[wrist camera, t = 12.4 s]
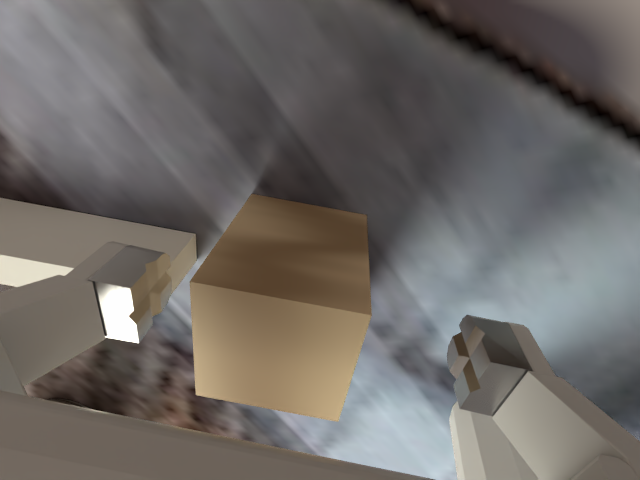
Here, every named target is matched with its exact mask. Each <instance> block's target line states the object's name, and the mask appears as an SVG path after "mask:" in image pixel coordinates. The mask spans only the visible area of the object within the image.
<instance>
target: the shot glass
mask: <svg viewBox="0 0 640 480" xmlns="http://www.w3.org/2000/svg"><path fill="white" fill-rule="evenodd" d="M449 422H450V429H451V436H452V443H453V450H454V457H455V464H456V471H457V478H458V480H539V479H538V477H537V476H536V475H535V473H534V472H533V471H532V470H531V468H530V467H529V466H528V464H527V463H526V462H525V460H524V459H523V458H522V457H521V455H520V454H519V453H518V451H517V450H516V449H515V447H514V446H513V445H512V443H511V442H510V441H509V440H508V438H507V437H506V436H505V434H504V433H503V432H502V430H501V429H500V428H499V427H498V425H497V424H496V423H495V421H494V420H493V419H492V416H488V415H484V414H480V413H475V412H471V411H467V410H462V409H459V405H458V401H457V402H456V403H455V404H454V405H453V407H452V411H451V415H450V419H449Z"/></svg>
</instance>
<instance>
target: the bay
mask: <svg viewBox="0 0 640 480" xmlns="http://www.w3.org/2000/svg"><path fill="white" fill-rule="evenodd" d="M112 241H114V242H118V243H123V244H128V245H133V246H137V247H142V248H146V249H151V250H155V251H159V252H164V253H167V254H168V255H169V256H170V264H171V266H170V268H169V269H168V270H167V271H166V272H167V274H168V275H169V276H170V277H171V279H172V291H171V294H172V293H173V292H174V290H175V289H176V288H177V286H178V285H179V284H180V282H181V281H182V280H183V278H184V277H185V276H186V274H187V273H188V272H189V270H190V269H191V267H192V266H193V265H194V263H195V262H196V261H197V252H196V234H193V233H188V232H183V231H177V230H172V229H166V228H161V227H156V226H150V225H145V224H139V223H134V222H129V221H123V220H118V219H112V218H107V217H102V216H96V215H91V214H85V213H80V212H75V211H69V210H64V209H58V208H53V207H47V206H42V205H37V204H31V203H26V202H20V201H15V200H10V199H4V198H0V284H4V285H10V286H15V287H20V286H23V285H26V284H30V283H33V282H36V281H40V280H43V279H46V278H49V277H53V276H56V275H63V276H65V275H66V274H68V273H69V272H70V271H72V270H73V269H74V268H75V267H77V266H78V265H79V264H80V263H82V262H83V261H84V260H85V259H87V258H88V257H89V256H90V255H92V254H93V253H94V252H95V251H97V250H98V249H99V248H101V247H102V246H103V245H104V244H106V243H107V242H112Z"/></svg>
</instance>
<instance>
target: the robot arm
mask: <svg viewBox="0 0 640 480" xmlns="http://www.w3.org/2000/svg"><path fill="white" fill-rule="evenodd" d="M170 266H171V264H170V256H169V255H168V254H167V253H164V252H159V251H155V250H151V249H146V248H142V247H137V246H133V245H128V244H123V243H118V242H114V241H112V242H107V243H106V244H104V245H103V246H102V247H101V248H99V249H98V250H97V251H95V252H94V253H93V254H92V255H90V256H89V257H88V258H87V259H85V260H84V261H83V262H82V263H80V264H79V265H78V266H77V267H75V268H74V269H73V270H72V271H70V272H69V273H68V274H66V275H65V276H63V275H56V276H53V277H49V278H46V279H43V280H40V281H36V282H33V283H30V284H26V285H23V286H20V287H17V288H13V289H10V290H7V291H4V292H0V480H434V479H430V478H425V477H420V476H415V475H410V474H405V473H400V472H395V471H390V470H386V469H381V468H376V467H371V466H366V465H361V464H356V463H351V462H346V461H342V460H337V459H332V458H327V457H322V456H317V455H312V454H307V453H302V452H298V451H293V450H288V449H283V448H278V447H273V446H268V445H264V444H259V443H254V442H249V441H244V440H239V439H234V438H230V437H225V436H220V435H215V434H210V433H205V432H200V431H195V430H191V429H186V428H181V427H176V426H171V425H166V424H161V423H157V422H152V421H147V420H142V419H137V418H132V417H127V416H122V415H118V414H113V413H108V412H103V411H98V410H93V409H88V408H84V407H79V406H74V405H69V404H64V403H59V402H54V401H50V400H45V399H40V398H35V397H30V396H28V395H27V393H26V391H25V389H24V386H26V385H27V384H29V383H31V382H32V381H34V380H36V379H38V378H39V377H41V376H43V375H44V374H46V373H48V372H50V371H51V370H53V369H55V368H56V367H58V366H60V365H62V364H63V363H65V362H67V361H68V360H70V359H72V358H74V357H75V356H77V355H79V354H81V353H82V352H84V351H86V350H87V349H89V348H91V347H93V346H94V345H96V344H98V343H99V342H101V341H103V340H105V337H107V338H113V339H119V340H124V341H130V342H136V343H139V342H140V341H141V340H142V338H143V337H144V335H145V334H146V333H147V331H148V330H149V329H150V327H151V326H152V325H153V320H152V316H154V315H156V314H159V313H161V312H162V311H163V309H164V308H165V307H166V305H167V303H168V301H169V298H170V296H171V291H172V279H171V277H170V276H169V275H168V274H167V272H166V271H167V270H168V269H169V268H170ZM459 326H460V329H461V333H459V334H457V335H455V336H453V337H452V339H451V341H450V344H449V346H448V352H447V363H448V367H449V371H450V372H451V373H452V374H453V375H454V377H455V378H456V379H457V380H456V382H455V384H454V385H453V386H454V390H455V394H456V398H457V401H458V405H459V409H462V410H467V411H471V412H475V413H480V414H484V415H488V416H492V419H493V420H494V421H495V423H496V424H497V425H498V427H499V428H500V429H501V430H502V432H503V433H504V434H505V436H506V437H507V438H508V440H509V441H510V442H511V443H512V445H513V446H514V447H515V449H516V450H517V451H518V453H519V454H520V455H521V457H522V458H523V459H524V460H525V462H526V463H527V464H528V466H529V467H530V468H531V470H532V471H533V472H534V473H535V475H536V476H537V477H538V479H539V480H640V441H638V440H637V439H636V438H635V437H634V436H632V435H631V434H630V433H629V432H627V431H626V430H625V429H624V428H623V427H621V426H620V425H619V424H618V423H617V422H615V421H614V420H613V419H612V418H610V417H609V416H608V415H607V414H606V413H604V412H603V411H602V410H601V409H599V408H598V407H597V406H596V405H595V404H593V403H592V402H591V401H590V400H589V399H587V398H586V397H585V396H584V395H582V394H581V393H580V392H579V391H578V390H576V389H575V388H574V387H573V386H572V385H570V384H569V383H568V382H567V381H565V380H564V379H563V378H561V377H556V376H555V374H554V372H553V370H552V369H551V367H550V365H549V364H548V362H547V360H546V358H545V357H544V355H543V353H542V351H541V350H540V348H539V346H538V345H537V343H536V341H535V339H534V338H533V336H532V334H531V332H530V331H529V329H528V328H527V327H525V326H524V325H520V324H514V323H509V322H501V321H496V320H491V319H486V318H481V317H476V316H471V315H466V316H465V317H464V318H463V319H462V321H461V323H460V324H459Z"/></svg>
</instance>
